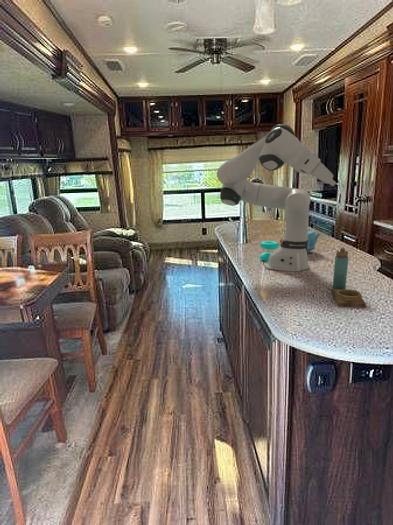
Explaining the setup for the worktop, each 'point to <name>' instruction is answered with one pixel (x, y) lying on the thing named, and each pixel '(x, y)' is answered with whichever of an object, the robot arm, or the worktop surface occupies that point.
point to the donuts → (269, 246)
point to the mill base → (348, 298)
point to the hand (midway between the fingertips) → (328, 180)
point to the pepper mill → (340, 269)
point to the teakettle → (312, 239)
